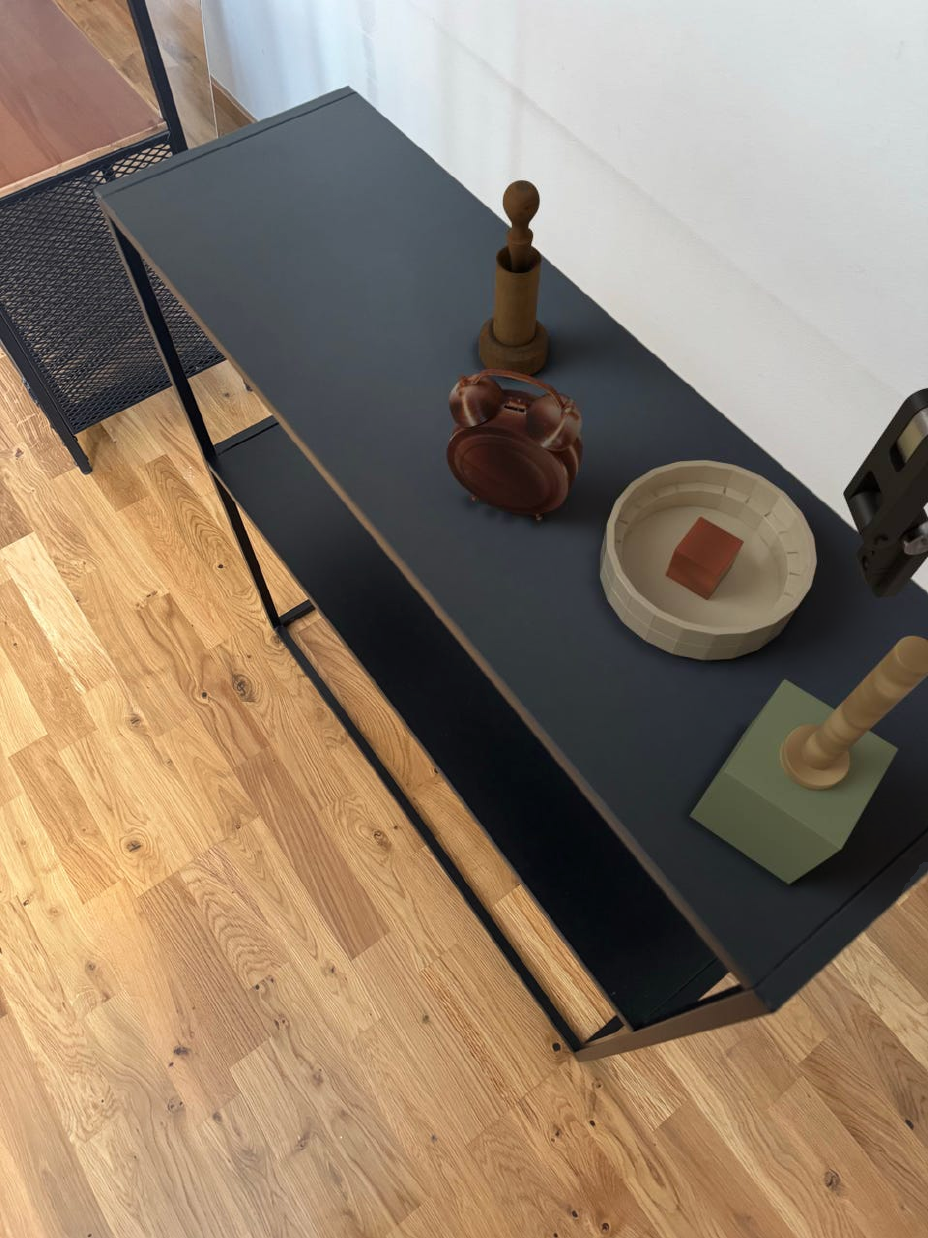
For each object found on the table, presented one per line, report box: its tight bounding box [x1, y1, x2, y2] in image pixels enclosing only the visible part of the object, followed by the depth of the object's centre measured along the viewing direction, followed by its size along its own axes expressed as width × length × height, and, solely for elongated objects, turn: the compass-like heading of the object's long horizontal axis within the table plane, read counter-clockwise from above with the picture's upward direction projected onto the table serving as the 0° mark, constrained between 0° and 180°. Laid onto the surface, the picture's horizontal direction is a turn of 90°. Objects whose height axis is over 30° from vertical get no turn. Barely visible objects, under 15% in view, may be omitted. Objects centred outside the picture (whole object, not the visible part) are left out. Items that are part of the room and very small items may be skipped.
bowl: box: [599, 459, 818, 661], centre depth 71 cm, size 16×16×5 cm
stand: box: [689, 678, 899, 885], centre depth 60 cm, size 8×8×10 cm
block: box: [666, 517, 744, 600], centre depth 71 cm, size 4×4×4 cm
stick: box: [780, 635, 928, 790], centre depth 49 cm, size 4×4×15 cm
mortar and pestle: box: [478, 179, 549, 376], centre depth 78 cm, size 7×6×18 cm
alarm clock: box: [446, 368, 584, 521], centre depth 71 cm, size 11×5×15 cm, turn 69°
